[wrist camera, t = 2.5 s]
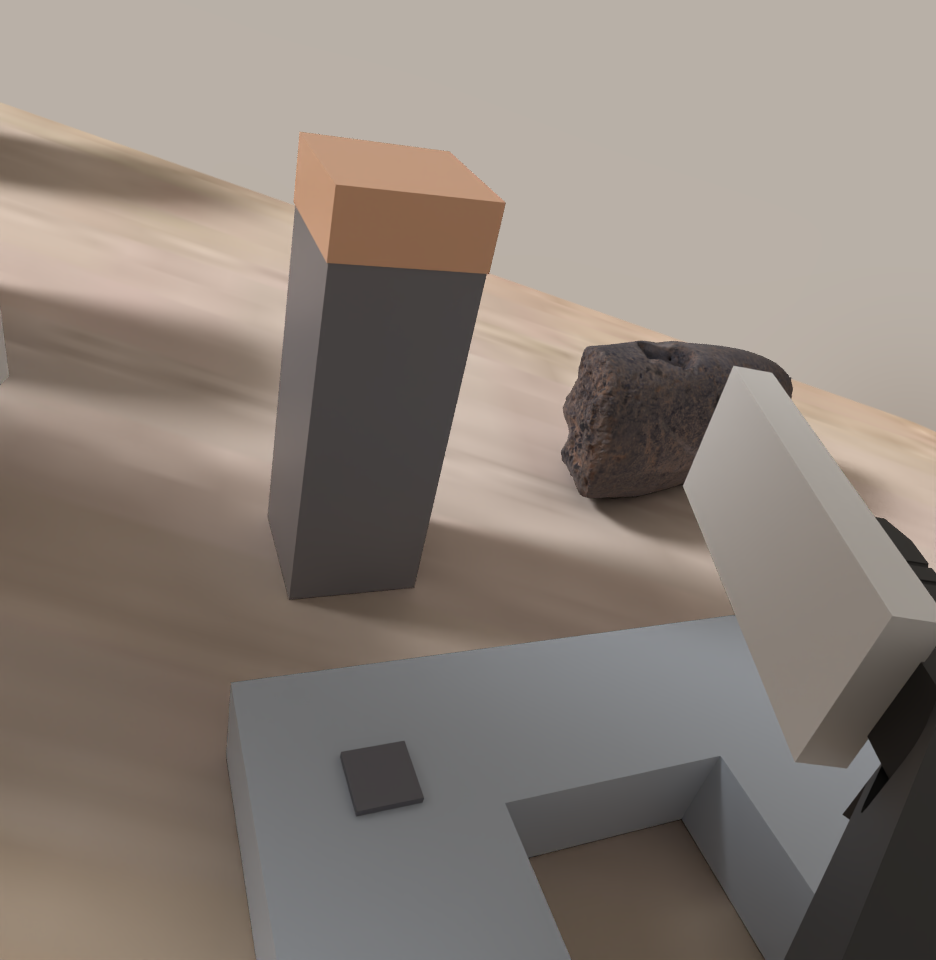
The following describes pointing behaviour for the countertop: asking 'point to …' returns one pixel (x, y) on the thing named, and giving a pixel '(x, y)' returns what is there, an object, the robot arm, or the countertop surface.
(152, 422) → the countertop surface
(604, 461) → the perforated stone tool
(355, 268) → the plug
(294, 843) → the socket
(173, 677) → the countertop surface
